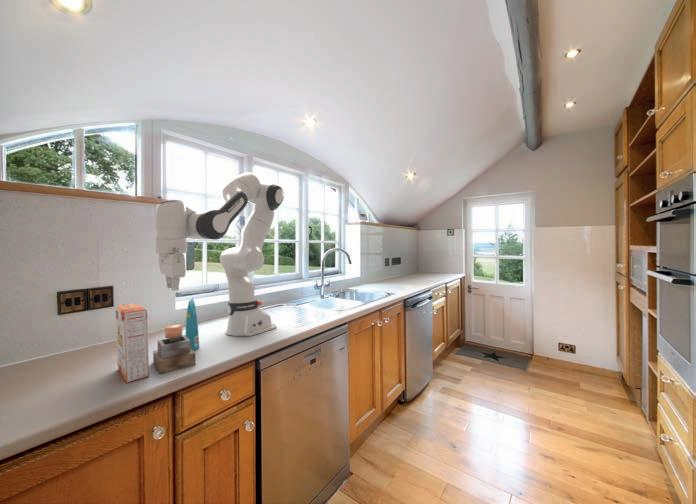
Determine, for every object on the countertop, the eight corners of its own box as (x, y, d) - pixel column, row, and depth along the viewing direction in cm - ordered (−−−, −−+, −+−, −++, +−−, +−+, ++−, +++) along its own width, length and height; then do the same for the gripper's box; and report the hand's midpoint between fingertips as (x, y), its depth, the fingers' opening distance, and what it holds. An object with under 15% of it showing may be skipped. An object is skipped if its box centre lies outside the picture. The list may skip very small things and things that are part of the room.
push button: (180, 338, 97) (180, 323, 96) (184, 341, 93) (183, 326, 93) (163, 341, 93) (163, 326, 93) (166, 345, 89) (166, 330, 89)
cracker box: (116, 369, 89) (114, 305, 88) (139, 363, 93) (138, 302, 93) (124, 384, 79) (122, 312, 79) (149, 377, 84) (148, 308, 83)
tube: (186, 346, 109) (185, 298, 109) (200, 344, 111) (199, 297, 111) (183, 353, 102) (183, 301, 102) (198, 351, 104) (197, 300, 104)
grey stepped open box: (186, 354, 101) (186, 332, 101) (195, 364, 92) (195, 340, 92) (153, 362, 94) (152, 339, 94) (159, 374, 85) (159, 348, 85)
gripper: (190, 248, 87) (191, 291, 87) (176, 248, 102) (176, 285, 102) (167, 248, 83) (167, 294, 83) (155, 248, 98) (156, 287, 98)
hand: (172, 289), depth 93 cm, fingers open, 6 cm apart
